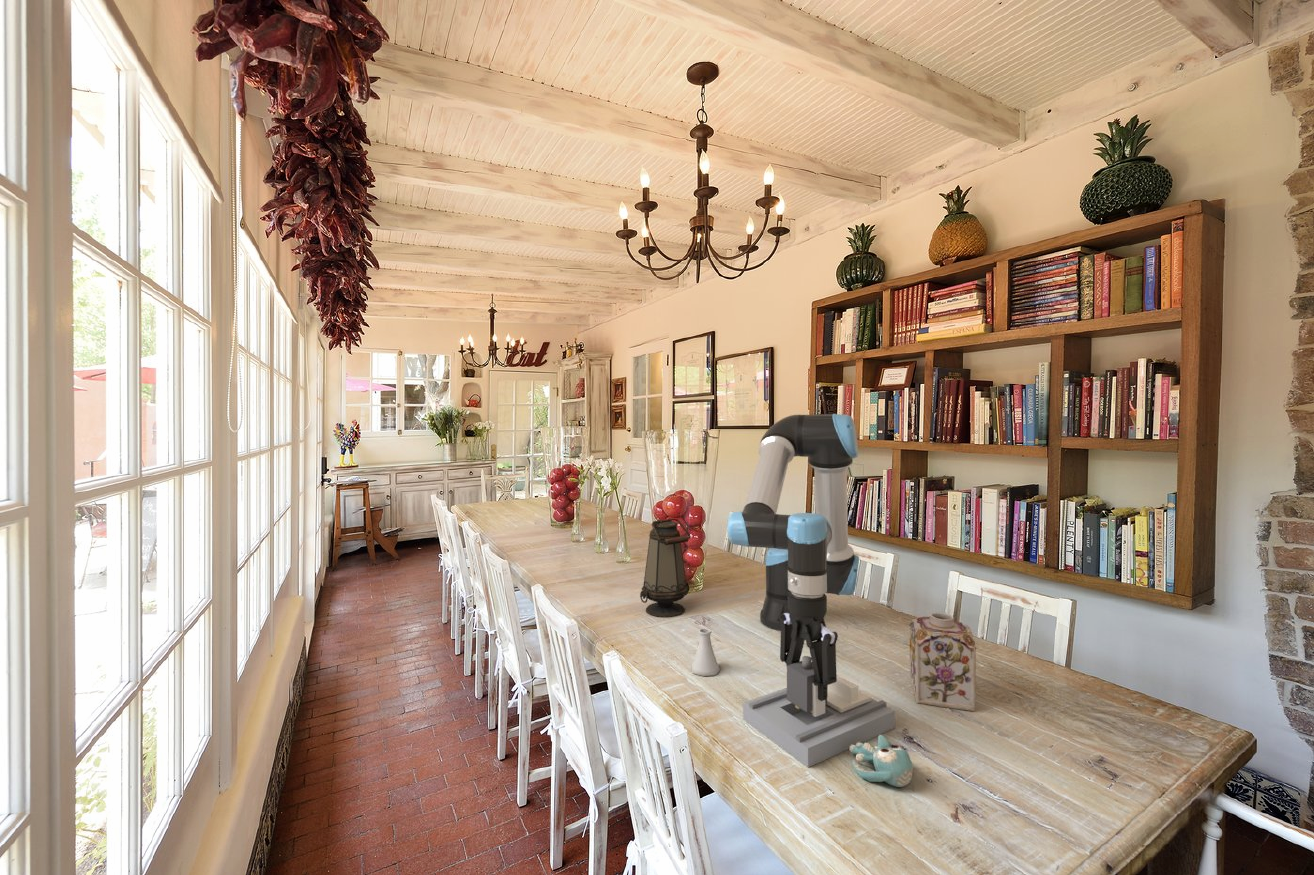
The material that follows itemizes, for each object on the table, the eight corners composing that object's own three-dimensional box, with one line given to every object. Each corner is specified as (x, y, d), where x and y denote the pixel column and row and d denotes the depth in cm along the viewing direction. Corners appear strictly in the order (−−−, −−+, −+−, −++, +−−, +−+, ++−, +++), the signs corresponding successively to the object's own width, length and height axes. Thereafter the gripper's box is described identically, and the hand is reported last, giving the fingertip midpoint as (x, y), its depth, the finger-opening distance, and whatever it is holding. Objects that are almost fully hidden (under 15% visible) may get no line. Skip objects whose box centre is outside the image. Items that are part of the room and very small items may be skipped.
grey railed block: (825, 689, 123) (825, 670, 123) (894, 727, 108) (894, 706, 108) (743, 719, 111) (743, 698, 111) (807, 767, 96) (807, 744, 95)
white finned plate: (837, 682, 119) (837, 665, 118) (871, 700, 111) (871, 682, 111) (808, 693, 114) (808, 675, 114) (841, 712, 106) (841, 693, 106)
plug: (786, 705, 109) (786, 655, 108) (806, 698, 112) (806, 649, 111) (806, 718, 104) (807, 666, 104) (827, 710, 107) (827, 660, 106)
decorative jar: (965, 686, 124) (965, 609, 123) (977, 713, 113) (978, 628, 112) (908, 679, 128) (908, 604, 127) (914, 703, 117) (914, 621, 116)
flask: (718, 678, 129) (718, 637, 129) (688, 675, 130) (688, 635, 130) (721, 665, 136) (721, 626, 136) (692, 662, 138) (692, 623, 137)
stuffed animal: (871, 715, 103) (926, 736, 92) (877, 755, 102) (933, 781, 91) (829, 730, 98) (881, 753, 87) (834, 772, 97) (888, 801, 86)
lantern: (673, 598, 187) (672, 512, 186) (701, 611, 174) (701, 518, 173) (628, 609, 176) (627, 518, 175) (655, 623, 164) (654, 525, 163)
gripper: (761, 583, 113) (761, 691, 114) (830, 609, 97) (829, 735, 98) (788, 577, 117) (788, 682, 118) (858, 602, 101) (857, 723, 102)
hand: (807, 706), depth 108 cm, fingers closed on plug, 5 cm apart
